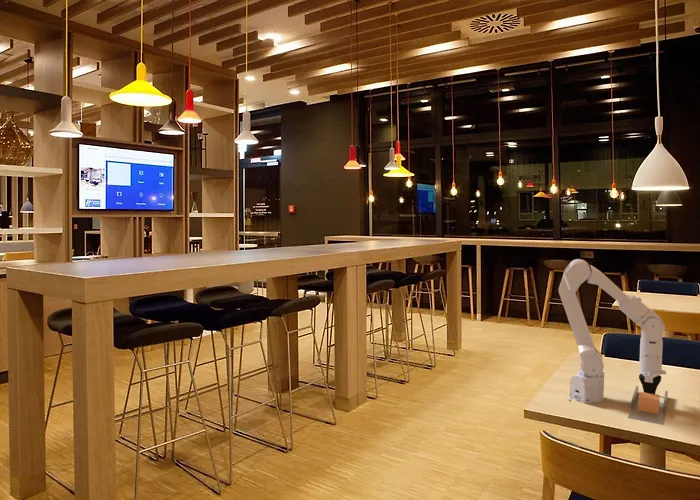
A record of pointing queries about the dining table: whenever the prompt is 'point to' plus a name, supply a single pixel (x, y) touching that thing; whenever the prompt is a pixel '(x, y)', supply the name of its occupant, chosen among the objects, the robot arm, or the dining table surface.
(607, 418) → the dining table surface
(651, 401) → the block
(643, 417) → the channel
